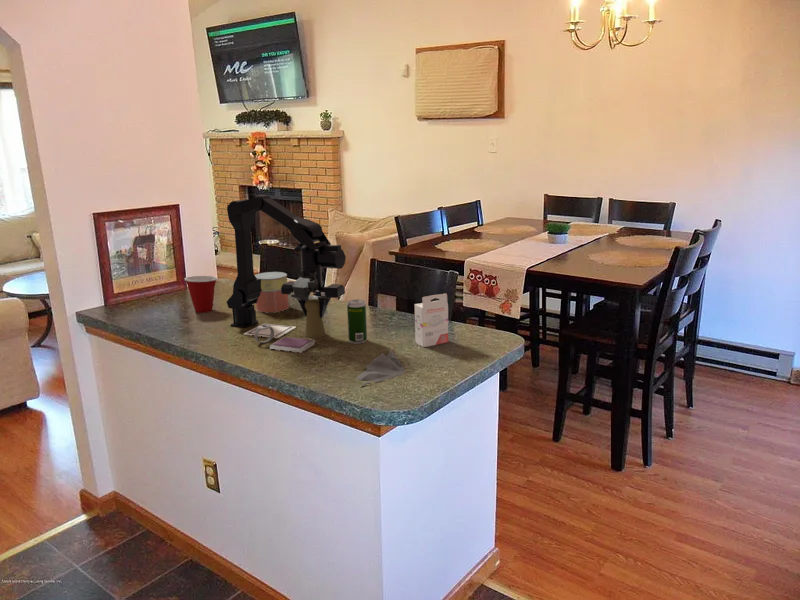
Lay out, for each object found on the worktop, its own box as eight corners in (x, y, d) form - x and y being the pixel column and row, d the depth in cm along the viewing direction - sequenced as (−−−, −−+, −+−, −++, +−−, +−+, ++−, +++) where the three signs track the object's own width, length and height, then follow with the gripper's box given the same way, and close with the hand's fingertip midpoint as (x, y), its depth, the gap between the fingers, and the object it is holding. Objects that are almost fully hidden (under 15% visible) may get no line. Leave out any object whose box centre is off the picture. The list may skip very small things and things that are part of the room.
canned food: (273, 302, 227) (271, 270, 224) (295, 307, 220) (293, 274, 217) (249, 310, 218) (246, 276, 215) (272, 314, 211) (269, 280, 208)
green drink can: (369, 342, 182) (368, 302, 179) (352, 345, 179) (351, 304, 176) (362, 337, 186) (361, 298, 183) (345, 340, 184) (344, 300, 181)
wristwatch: (258, 346, 180) (257, 329, 179) (253, 344, 182) (251, 327, 181) (276, 340, 185) (275, 324, 183) (270, 339, 186) (269, 322, 185)
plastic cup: (227, 308, 220) (223, 275, 217) (202, 316, 211) (199, 281, 208) (205, 304, 226) (202, 272, 222) (181, 312, 217) (177, 278, 214)
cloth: (378, 395, 147) (378, 386, 146) (330, 385, 153) (329, 376, 152) (427, 360, 169) (427, 352, 168) (383, 352, 175) (383, 344, 174)
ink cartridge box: (439, 338, 184) (439, 289, 181) (448, 342, 180) (448, 293, 176) (414, 342, 181) (413, 293, 177) (422, 347, 176) (422, 297, 173)
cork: (321, 338, 186) (319, 302, 183) (302, 337, 188) (300, 301, 185) (327, 331, 192) (326, 297, 189) (309, 331, 193) (307, 296, 190)
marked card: (243, 334, 191) (243, 333, 191) (263, 324, 201) (263, 323, 201) (278, 338, 187) (278, 337, 187) (296, 327, 197) (296, 326, 197)
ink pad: (270, 349, 177) (269, 344, 177) (284, 340, 185) (284, 335, 184) (301, 352, 174) (301, 347, 174) (314, 343, 181) (314, 339, 181)
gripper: (269, 270, 180) (273, 321, 184) (327, 273, 174) (330, 327, 178) (288, 262, 190) (292, 311, 194) (344, 265, 184) (346, 316, 188)
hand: (314, 316), depth 188 cm, fingers closed on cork, 5 cm apart
